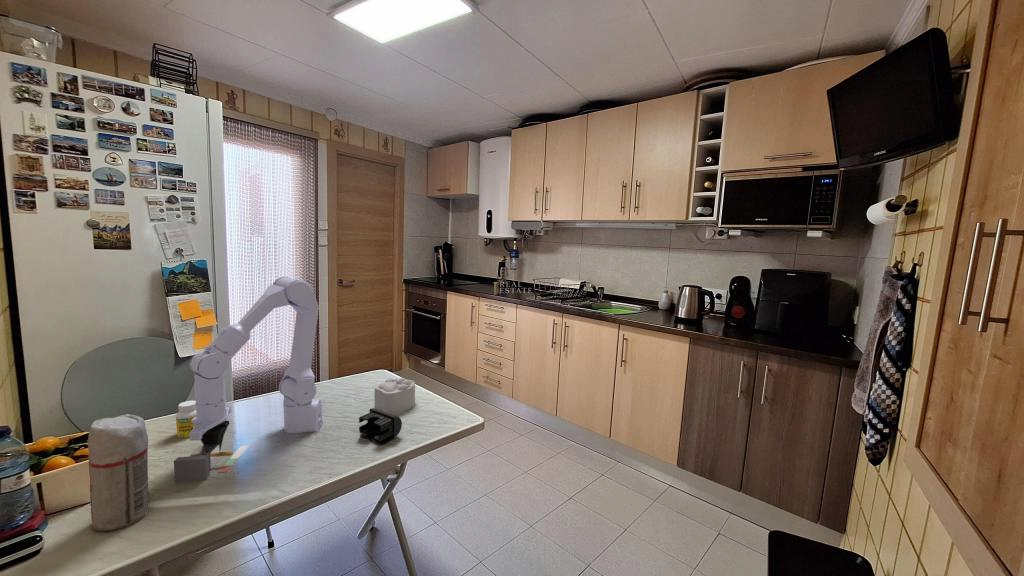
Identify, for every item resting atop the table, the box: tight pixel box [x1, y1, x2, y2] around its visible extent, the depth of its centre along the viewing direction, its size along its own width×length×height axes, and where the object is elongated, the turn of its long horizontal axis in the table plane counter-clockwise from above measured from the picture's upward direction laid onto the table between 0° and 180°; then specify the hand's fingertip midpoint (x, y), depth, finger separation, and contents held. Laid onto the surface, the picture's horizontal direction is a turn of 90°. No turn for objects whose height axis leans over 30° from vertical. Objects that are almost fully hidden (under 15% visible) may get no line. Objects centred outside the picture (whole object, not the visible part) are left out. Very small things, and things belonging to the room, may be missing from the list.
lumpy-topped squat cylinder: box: [374, 377, 416, 415], centre depth 130 cm, size 10×13×9 cm
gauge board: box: [173, 445, 250, 483], centre depth 93 cm, size 12×18×6 cm, turn 12°
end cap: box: [358, 407, 403, 447], centre depth 110 cm, size 10×7×7 cm
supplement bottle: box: [175, 400, 197, 439], centre depth 105 cm, size 5×5×10 cm
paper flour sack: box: [87, 413, 150, 532], centre depth 74 cm, size 8×8×20 cm
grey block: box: [189, 444, 234, 470], centre depth 92 cm, size 8×4×4 cm, turn 102°
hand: (213, 453), depth 95 cm, fingers closed
